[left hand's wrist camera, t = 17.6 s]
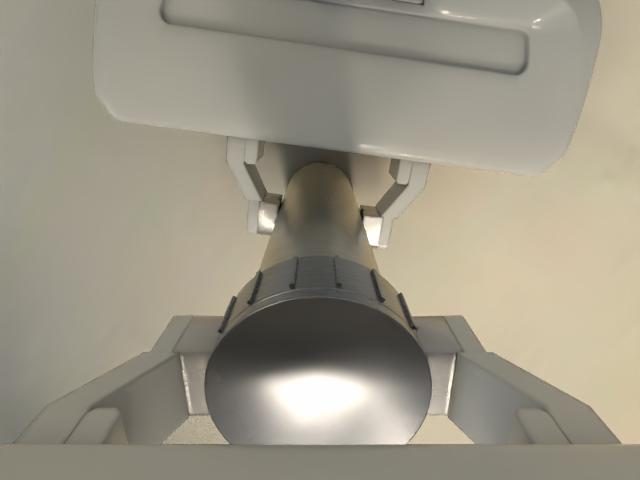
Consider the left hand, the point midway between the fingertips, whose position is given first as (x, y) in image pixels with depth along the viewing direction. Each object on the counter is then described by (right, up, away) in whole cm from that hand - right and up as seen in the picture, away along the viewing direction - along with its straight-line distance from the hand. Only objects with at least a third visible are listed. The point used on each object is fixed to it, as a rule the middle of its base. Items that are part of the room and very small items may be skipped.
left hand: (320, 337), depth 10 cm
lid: (0, -1, -2) cm, 2 cm away
